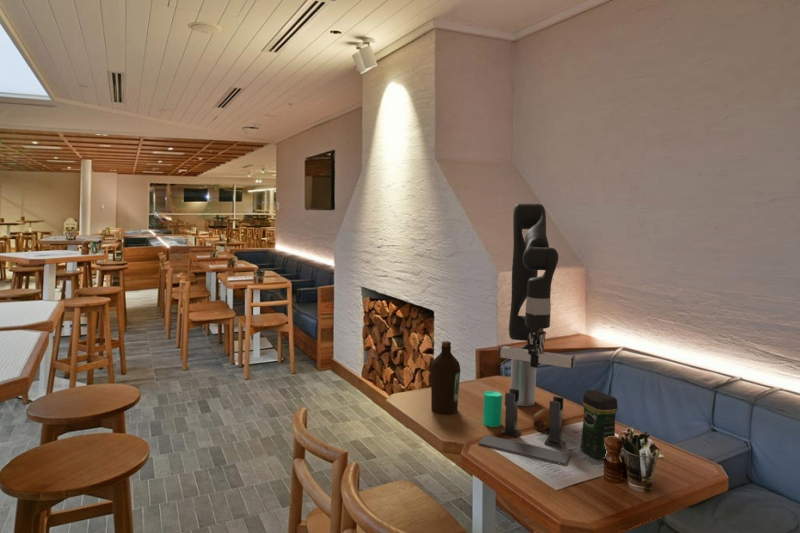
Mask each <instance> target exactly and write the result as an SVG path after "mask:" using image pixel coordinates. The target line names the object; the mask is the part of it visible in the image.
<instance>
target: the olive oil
mask: <svg viewBox="0 0 800 533" xmlns="http://www.w3.org/2000/svg"><path fill="white" fill-rule="evenodd" d="M451 344H452V341H446V340H443V341H441V349H440V350H441V352H440V353H439V354H438V355H437V356H436V357H435V358H434V359H433V360H432V362H431V364H430V365H431V366H430V387H431V388H430V390H431V394H430V395H431V401H430V402H431V404H430V405H431V411H432V412H434V413H435V412H436V414H439V415H453V414H456V413H457V412H458V406H459V405H458V404H459V392H460V380H461V365H460V361H458V359H457V357H455V356H454V354H452V352H451V351H452V350H451V349H452V346H451Z"/></svg>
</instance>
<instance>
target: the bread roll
mask: <svg viewBox="0 0 800 533" xmlns="http://www.w3.org/2000/svg"><path fill="white" fill-rule="evenodd" d="M532 418H533V419H532V420H533V422H532V423H533V428H534V429H535V430H537V431H539V432H542V433H547V434H549V425H550V414H549V408H541V409H540V410H539V411H537V412H536V413H534V415H533V417H532ZM563 428H564V420H563V418H562V424H561V431H562V430H563Z"/></svg>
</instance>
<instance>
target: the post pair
mask: <svg viewBox="0 0 800 533" xmlns="http://www.w3.org/2000/svg"><path fill="white" fill-rule="evenodd" d="M564 399H565V398H564V397H562V396H561V397H560V396H554V395H553V396H552V400H550V401H549V407H548V409H549V414H550V425H549V433H548V436H547V438H546V439H545V441H544V445H546V446H550V447H554V448H559V449H562V448H563V446H564V444H565V441H566V440H565V439H562V430H561V424H562V419H563V411H564ZM518 402H519V390H517V389H511V387H509V392H505V393H504V406H505V417H504V418H505V420H504V422H505V423H504V428H503V429H502V430H501V432H500V435H502V436H504V437H505V436H506V437H510V438H514V439H516V438H518V436H520V434H521V432H522V431H521V429H518V427H517V426H518V412H519V411H518V410H519V408H518Z"/></svg>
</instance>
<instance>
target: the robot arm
mask: <svg viewBox="0 0 800 533" xmlns="http://www.w3.org/2000/svg"><path fill="white" fill-rule="evenodd" d="M512 212H513V216H512V224H513V225H512V229H513V232H512V234H513V248H512V251H513V252H512V264H511V265H512V266H511V299H510V300H511V302H510V312H509V320H508V321H509V324H508V334H509V338H510V339H511V340H514V341H525V342H527V343H526V344H524V345H523V346H519V347H518V348H520V349H527V350H528V354H530V355H531V361H530V362H528V361H522V360H515V359H511V362H510V364H511V366H510V368H511V370H510V388H511V389H517V390H519V402H518V406H519V407H531V406H535V403H536V402H535V401H536V385H537V384H536V383H537V368H538V366H539V365H540V366H541V363H538V355H539V351H542V352H543V350H544V349H545V341H546V335H547V331H544V329H548V328H550V327H551V310H552V309H551V306H552V304H551V303H552V302H551V291H552V290H551V289H552V282H553V278H554V274H555V271H556V269H557V265H558V264H559V253H558V251H557V249H556V248H554V247H550V244H549V241H548V237H547V216H546V214H547V213H546V209H545V206H544V205H543V204H541V203H517V204H515V206H514V208H513V211H512ZM523 230H528V231H527V232H526V234H525V236H524V235H523ZM539 271H544V273H542V275H540V276H539V275H538V272H539ZM524 302H525V314H524V315H519V312H520V311H521V308H522V306H523V305H524ZM533 350H534V351H533Z"/></svg>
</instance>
